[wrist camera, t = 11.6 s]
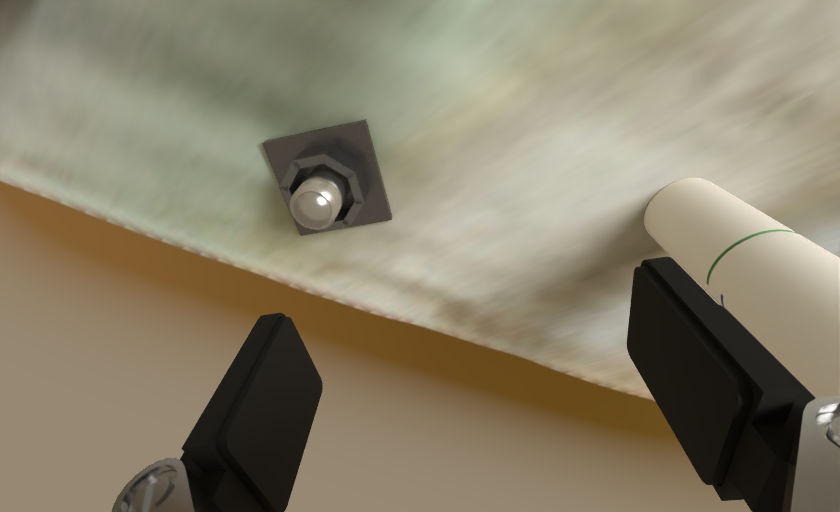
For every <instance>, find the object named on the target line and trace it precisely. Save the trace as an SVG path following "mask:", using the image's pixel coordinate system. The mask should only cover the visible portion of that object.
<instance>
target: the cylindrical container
mask: <svg viewBox="0 0 840 512" xmlns="http://www.w3.org/2000/svg"><path fill="white" fill-rule="evenodd" d="M644 226H645V229H646V231H647V232H648V233H649V235H650V236H651V237H652V238H653V239H654V240H655V241H656V242H657V243H658V244H659V245H660V246H661V247H662V248H663V249H664V250H665V251H666V252H667V253H668V254H669V255H670V256H671V257H672V258H673V259H674V260H675V261H676V262H677V263H678V264H679V265H680V266H681V267H682V268H683V269H684V270H685V271H686V272H687V273H688V274H689V275H690V276H691V277H692V278H693V279H694V280H695V281H696V282H697V283H698V284H699V285H700V286H701V287H702V288H703V289H704V290H705V291H706V292H707V293H708V294H709V295H710V296H711V297H712V298H713V299H714V300H715V301H716V302H717V303H718V304H719V305H721V306H723V307H724V308H725V309H727V310H728V311H729V312H730V313H731V314H732V315H733V316H734V317H735V318H736V319H737V320H738V321H739V322H740V323H741V324H742V325H743V326H744V327H745V328H746V329H747V330H748V331H749V332H750V333H751V334H752V335H753V336H754V337H755V338H756V339H757V340H758V341H759V342H760V343H761V344H762V345H763V346H764V347H765V348H766V349H767V350H768V351H769V352H770V353H771V354H772V355H773V356H774V357H775V358H776V359H777V360H778V361H779V362H780V363H781V364H782V365H783V366H784V367H785V368H786V369H787V370H788V371H789V372H790V373H791V374H792V375H793V376H794V377H795V378H796V379H797V380H798V381H799V382H800V383H801V384H802V385H803V386H804V387H805V388H806V389H807V390H808V391H809V392H810V393H811V394H812V395H813V396H814V397H815V398H822V397H828V396H833V397H840V258H839V257H837V256H835V255H834V254H832V253H830V252H828V251H827V250H825V249H823V248H822V247H820V246H818V245H816V244H815V243H813V242H811V241H810V240H808V239H806V238H805V237H803V236H801V235H799V234H798V233H796V232H794V231H793V230H791V229H789V228H788V227H786V226H784V225H782V224H781V223H779V222H777V221H776V220H774V219H772V218H771V217H769V216H767V215H765V214H764V213H762V212H760V211H759V210H757V209H755V208H754V207H752V206H750V205H748V204H747V203H745V202H743V201H742V200H740V199H738V198H737V197H735V196H733V195H731V194H730V193H728V192H726V191H725V190H723V189H721V188H720V187H718V186H716V185H714V184H713V183H711V182H709V181H707V180H704V179H700V178H687V179H682V180H679V181H676V182H673V183H671V184H670V185H668V186H666V187H665V188H663V189H662V190H660V191H659V192H658V193H657V194H656V195H655V196H654V197H653V199H652V200H651V201H650V203H649V204H648V206H647V208H646V211H645V214H644Z"/></svg>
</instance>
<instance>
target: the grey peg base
mask: <svg viewBox="0 0 840 512" xmlns="http://www.w3.org/2000/svg"><path fill="white" fill-rule="evenodd" d="M262 144H263V147H264V149H265V151H266V154H267V156H268V159H269V161H270V163H271V166H272V168H273V171H274V173H275V175H276V178H277V180H278V183H279V185H281V183H282V181H283V179H284V177H285V175H286V173H287V171H288V169H289V167H290V165H291V162H292V161H293V160H294V159H295V158H296V157H297V156H298V155H299V154H300V153H301V152H302V151H304V150H309V149H313V148H318V147H323V146H328V145H332V144H333V145H334V146H336V147H337V148H339V149H341V150H342V151H344V152H345V153H347V154H349V155H350V156H352V157H354V158H355V159H357V160H358V161H360V162H361V165H362V168H363V172H364V175H365V178H366V182H367V185H368V188H369V193H368V195H367V198H366V200H365V203H364V205H363V206H362V208H361V209H360V211H359V213H358V214H357V216H356V217H355V219H354V221H353V222H352V224H351V225H350V227H353V226H359V225H365V224H370V223H376V222H382V221H388V220H392V214H391V210H390V207H389V203H388V199H387V195H386V192H385V188H384V184H383V181H382V177H381V173H380V170H379V166H378V162H377V158H376V155H375V151H374V147H373V144H372V140H371V136H370V133H369V129H368V125H367V122H366V120H361V121H356V122H352V123H347V124H342V125H338V126H333V127H328V128H324V129H319V130H314V131H310V132H305V133H300V134H296V135H291V136H286V137H281V138H277V139H272V140H267V141H265V142H263V143H262ZM299 179H300V182H301V185H300V187H299V188H298V189H297V190H296V191H295V193H294V194H293V195H292V197H291V200H290V210H291V213H292V215H293V217H294V221H295V223H296V225H297V228H298V230H299V233H300V235H301V236H302V235H308V234H313V233H319V231H317V230H321V229H325V228H327V227H329V226H330V225H331V224H332V223H333V222H334V221H335V219H336V217H337V215H338V213H339V211H340V209H342V208H348V207H350V206H351V204H352V203H353V201H354V196H353V193H352V190H351V187H350V184H349V181H348V178H347V177H345V176H344V175H342V174H340V173H339V172H337V171H335V170H334V169H332V168H330V167H329V166H327V165H325V164H320V165H315V166H310V167H305V168H304V169H303V171H302V173H301V175H300V177H299ZM347 228H348V227H347ZM341 229H342V228H341ZM335 230H336V229H335ZM324 232H325V231H324Z"/></svg>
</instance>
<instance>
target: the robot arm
mask: <svg viewBox="0 0 840 512" xmlns="http://www.w3.org/2000/svg"><path fill="white" fill-rule="evenodd" d="M627 349H628V353H629V355H630V357H631V359H632V361H633V363H634V364H635V366H636V368H637V370H638V371H639V373H640V375H641V377H642V378H643V380H644V382H645V383H646V385H647V387H648V389H649V390H650V392H651V394H652V396H653V397H654V399H655V401H656V402H657V404H658V406H659V408H660V409H661V411H662V413H663V415H664V416H665V418H666V420H667V422H668V423H669V425H670V427H671V428H672V430H673V432H674V433H675V435H676V437H677V439H678V441H679V442H680V444H681V446H682V448H683V449H684V451H685V453H686V454H687V456H688V457H689V459H690V461H691V463H692V465H693V466H694V468H695V470H696V472H697V473H698V475H699V477H700V478H701V480H702V481H703V482H704V483H705V484H707V485H713V487H714V488H715V490H716V492H717V494H718V495H719V497H720V499H721V500H722V501H727V500H741V499H744V500H745V502H746V503H747V505H748V506H749V508H750V509H751V511H752V512H840V397H833V396H828V397H822V398H815V397H814V396H813V395H812V394H811V393H810V392H809V391H808V390H807V389H806V388H805V387H804V386H803V385H802V384H801V383H800V382H799V381H798V380H797V379H796V378H795V377H794V376H793V375H792V374H791V373H790V372H789V371H788V370H787V369H786V368H785V367H784V366H783V365H782V364H781V363H780V362H779V361H778V360H777V359H776V358H775V357H774V356H773V355H772V354H771V353H770V352H769V351H768V350H767V349H766V348H765V347H764V346H763V345H762V344H761V343H760V342H759V341H758V340H757V339H756V338H755V337H754V336H753V335H752V334H751V333H750V332H749V331H748V330H747V329H746V328H745V327H744V326H743V325H742V324H741V323H740V322H739V321H738V320H737V319H736V318H735V317H734V316H733V315H732V314H731V313H730V312H729V311H728V310H727V309H725V308H724V307H723V306H721V305H718V304H717V303H716V302H715V301H714V300H713V299H712V298H711V297H710V296H709V295H708V294H707V293H706V292H705V291H704V290H703V289H702V288H701V287H700V286H699V285H698V284H697V283H696V282H695V281H694V280H693V279H692V278H691V277H690V276H689V275H688V274H687V273H686V272H685V271H684V270H683V269H682V268H681V267H680V266H679V265H678V264H677V263H676V262H675V261H674V260H673V259H672V258H671V257H662V258H655V259H648V260H644V261H642V263H641V266H640V267H636V268H635V270H634V277H633V287H632V297H631V307H630V317H629V327H628V337H627ZM321 393H322V380H321V378H320V376H319V374H318V372H317V370H316V368H315V365H314V364H313V362H312V359H311V358H310V355H309V353H308V352H307V350H306V347H305V346H304V343H303V341H302V339H301V338H300V335H299V333H298V331H297V329H296V328H295V326H294V323H293V321H292V319H291V318H290V317H286V316H285V315H284V314H282V313H276V314H269V315H263V316H261V317H260V318H259V319H258V320H257V322H256V324H255V325H254V327H253V329H252V330H251V332H250V334H249V336H248V337H247V339H246V341H245V342H244V344H243V346H242V347H241V349H240V351H239V352H238V354H237V356H236V357H235V359H234V361H233V363H232V364H231V366H230V368H229V369H228V371H227V373H226V374H225V376H224V378H223V379H222V381H221V383H220V384H219V386H218V388H217V389H216V391H215V393H214V395H213V396H212V398H211V400H210V401H209V403H208V405H207V407H206V408H205V410H204V412H203V413H202V415H201V417H200V418H199V420H198V422H197V423H196V425H195V427H194V429H193V430H192V432H191V433H190V435H189V437H188V438H187V440H186V442H185V444H184V445H183V447H182V449H183V451H184V453H183V455H182V457H181V459H180V460H178V459H176V458H167V459H163V460H160V461H157V462H155V463H153V464H151V465H149V466H148V467H146V468H145V469H143V470H142V471H141V472H139V473H138V474H137V475H136V476H135V477H134V478H133V479H132V480H131V481H130V482H129V483H128V484H127V485H126V486H125V487H124V489H123V490H122V491H121V493H120V494H119V496H118V497H117V499H116V502H115V503H114V506H113V509H112V512H284V511H285V510H286V507H287V505H288V501H289V498H290V495H291V492H292V488H293V485H294V482H295V479H296V475H297V472H298V469H299V466H300V462H301V459H302V455H303V452H304V449H305V446H306V443H307V439H308V436H309V433H310V430H311V426H312V423H313V420H314V416H315V413H316V410H317V406H318V403H319V400H320V397H321Z"/></svg>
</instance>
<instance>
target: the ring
mask: <svg viewBox="0 0 840 512" xmlns="http://www.w3.org/2000/svg"><path fill="white" fill-rule="evenodd" d="M320 164H325V165H327V166H329V167H330V168H332V169H334V170H335V171H337V172H339V173H340V174H342V175H344V176H345V177H347V178H348V181H349V184H350V187H351V190H352V193H353V196H354V201H353V203H352V204H351V206H350V207H348V208H342V209H340V211H339V213H338V215H337V217H336V219H335V221H334V222H333V223H332V224H331V225H330V226H329V227H327V228H325V229H321V230H317V231H319V232H324V231H330V230H335V229H341V228H347V227H350V225H351V224H352V222H353V221H354V219H355V217H356V216H357V214H358V213H359V211H360V209H361V208H362V206H363V205H364V203H365V200H366V198H367V195H368V193H369V188H368V185H367V182H366V178H365V175H364V172H363V168H362V165H361V162H360V161H358V160H357V159H355V158H354V157H352V156H350V155H349V154H347V153H345V152H344V151H342V150H341V149H339V148H337V147H336V146H334V145H333V144H332V145H328V146H323V147H318V148H313V149H309V150H304V151H302V152H301V153H300V154H299V155H298V156H297V157H296V158H295V159H294V160H293V161H292V162H291V165H290V167H289V169H288V171H287V173H286V175H285V177H284V179H283V181H282V183H281V185H280V187H279V188H280V190H281V192H282V195H283V197H284V199H285V202H286V204H287V206H288V209H289V211H290V214H291V216H292V217H293V215H292V213H291V210H290V200H291V197H292V195H293V194H294V193H295V191H296V190H297V189H298V188H299V187H300V185H301V182H300V179H299V177H300V175H301V173H302V171H303V169H304V168H305V167H310V166H315V165H320ZM293 218H294V217H293Z"/></svg>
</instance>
